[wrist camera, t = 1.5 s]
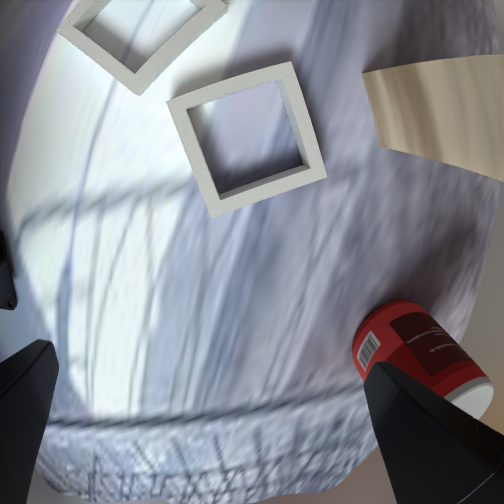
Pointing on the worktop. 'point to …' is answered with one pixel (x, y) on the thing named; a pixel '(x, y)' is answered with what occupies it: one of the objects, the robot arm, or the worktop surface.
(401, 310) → the canned food
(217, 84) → the frame
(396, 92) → the block
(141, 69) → the frame
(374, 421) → the robot arm
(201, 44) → the worktop surface
